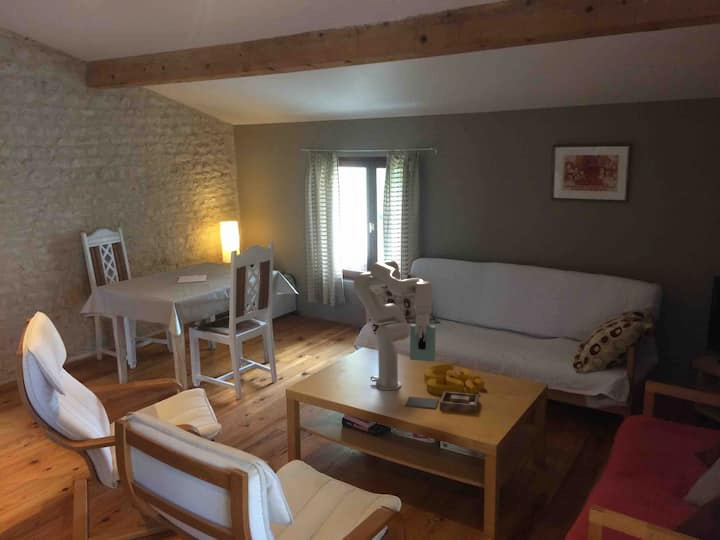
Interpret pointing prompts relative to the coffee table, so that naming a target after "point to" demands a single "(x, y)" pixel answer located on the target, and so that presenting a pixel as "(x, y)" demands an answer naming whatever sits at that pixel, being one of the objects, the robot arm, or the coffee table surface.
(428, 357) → the teal rectangular block
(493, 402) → the coffee table surface
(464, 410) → the brown rectangular frame
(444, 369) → the decorative symbol
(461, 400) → the offcut stack
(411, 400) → the mat
